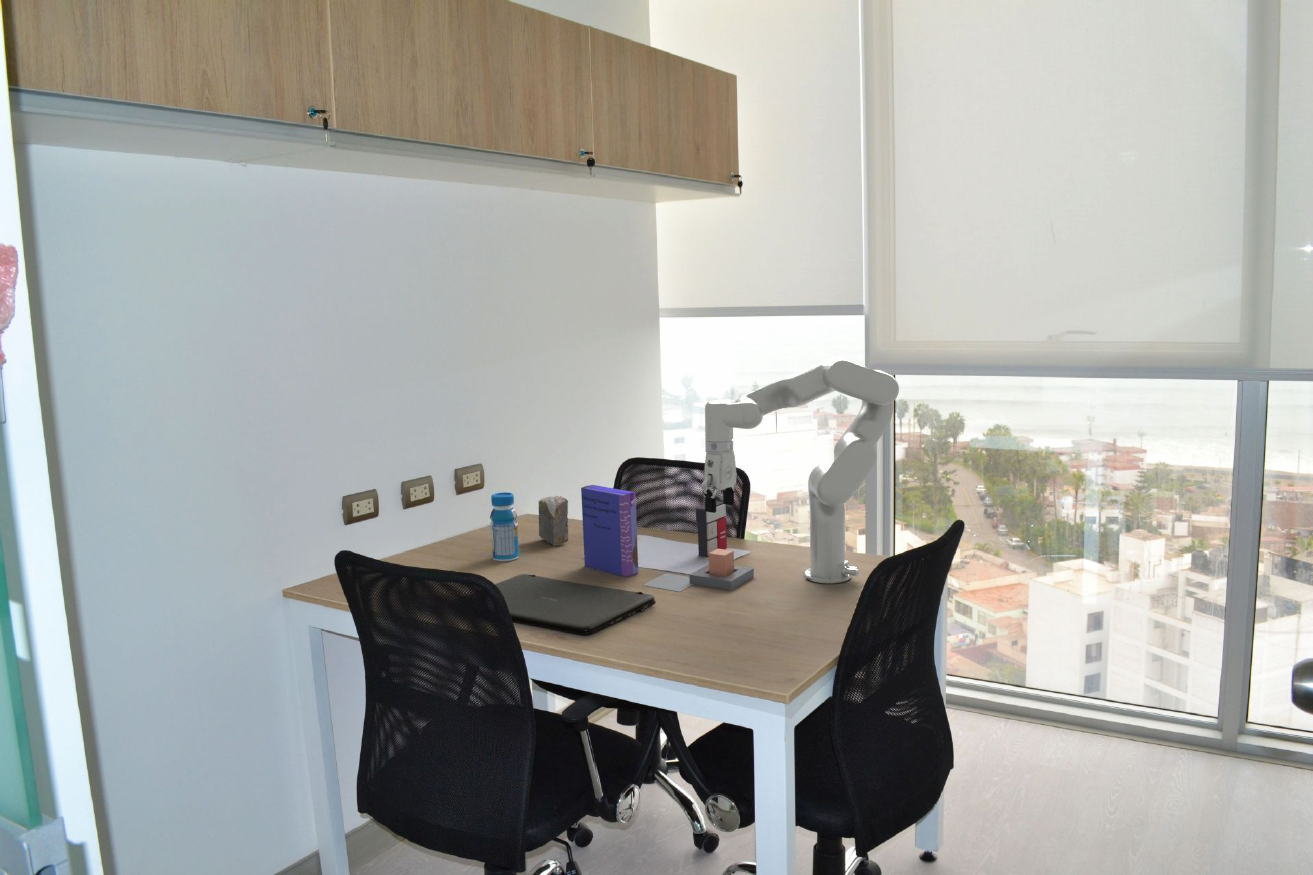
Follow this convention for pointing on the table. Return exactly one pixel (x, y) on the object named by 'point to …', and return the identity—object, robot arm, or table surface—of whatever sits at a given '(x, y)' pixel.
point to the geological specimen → (553, 520)
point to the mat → (670, 582)
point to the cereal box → (610, 530)
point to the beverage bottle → (504, 527)
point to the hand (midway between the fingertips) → (719, 508)
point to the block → (721, 562)
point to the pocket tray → (722, 578)
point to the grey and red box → (711, 529)
